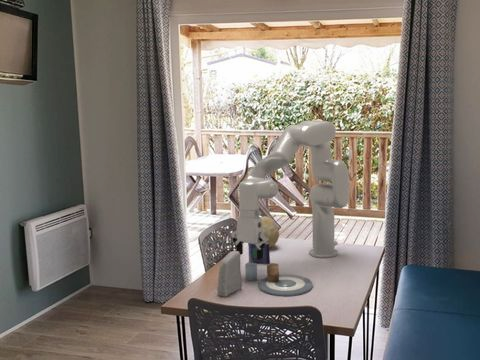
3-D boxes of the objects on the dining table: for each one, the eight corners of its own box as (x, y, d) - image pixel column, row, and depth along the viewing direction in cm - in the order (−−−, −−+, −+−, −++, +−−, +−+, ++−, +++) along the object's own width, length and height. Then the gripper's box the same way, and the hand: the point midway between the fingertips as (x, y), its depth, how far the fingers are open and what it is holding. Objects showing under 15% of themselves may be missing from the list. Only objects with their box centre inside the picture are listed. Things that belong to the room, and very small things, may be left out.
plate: (277, 273, 210) (277, 270, 210) (322, 283, 198) (322, 280, 198) (247, 289, 194) (247, 286, 194) (294, 300, 182) (294, 297, 182)
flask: (248, 263, 224) (247, 238, 222) (250, 260, 227) (249, 236, 225) (268, 264, 221) (268, 240, 219) (270, 262, 224) (270, 238, 222)
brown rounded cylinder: (281, 279, 200) (280, 264, 199) (274, 283, 196) (274, 267, 195) (271, 277, 202) (271, 262, 202) (265, 281, 199) (264, 265, 198)
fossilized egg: (282, 245, 248) (282, 214, 246) (274, 253, 237) (274, 220, 234) (257, 243, 253) (256, 212, 250) (248, 250, 241) (247, 219, 239)
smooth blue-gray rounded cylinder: (250, 276, 207) (249, 262, 206) (259, 278, 205) (258, 263, 204) (243, 279, 204) (243, 265, 203) (252, 282, 201) (252, 267, 200)
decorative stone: (228, 298, 186) (226, 257, 184) (214, 295, 189) (212, 255, 187) (244, 288, 195) (242, 249, 193) (230, 285, 198) (229, 247, 196)
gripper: (273, 214, 198) (273, 258, 200) (237, 209, 208) (237, 251, 211) (262, 217, 192) (262, 263, 194) (225, 212, 202) (226, 255, 205)
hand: (249, 256), depth 203 cm, fingers open, 9 cm apart
